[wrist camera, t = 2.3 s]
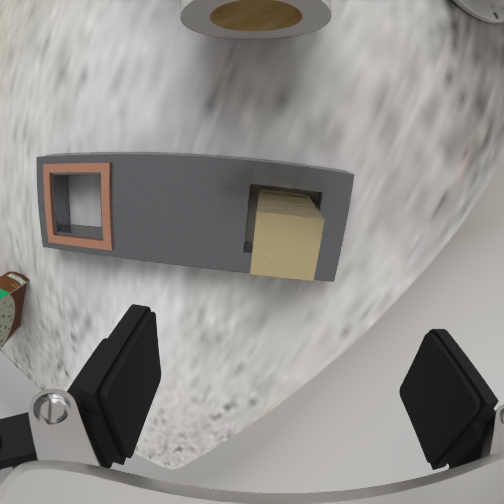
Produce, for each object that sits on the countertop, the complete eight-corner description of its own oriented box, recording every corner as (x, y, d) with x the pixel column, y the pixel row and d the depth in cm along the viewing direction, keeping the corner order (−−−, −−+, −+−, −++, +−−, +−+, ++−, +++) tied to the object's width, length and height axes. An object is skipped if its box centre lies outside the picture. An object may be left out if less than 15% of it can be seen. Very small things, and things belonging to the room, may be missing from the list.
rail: (346, 170, 24) (355, 174, 21) (328, 269, 27) (334, 283, 25) (51, 154, 24) (34, 157, 21) (56, 238, 27) (41, 247, 25)
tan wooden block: (307, 194, 25) (324, 219, 17) (300, 239, 26) (313, 280, 19) (259, 189, 25) (256, 211, 17) (254, 234, 26) (250, 274, 19)
